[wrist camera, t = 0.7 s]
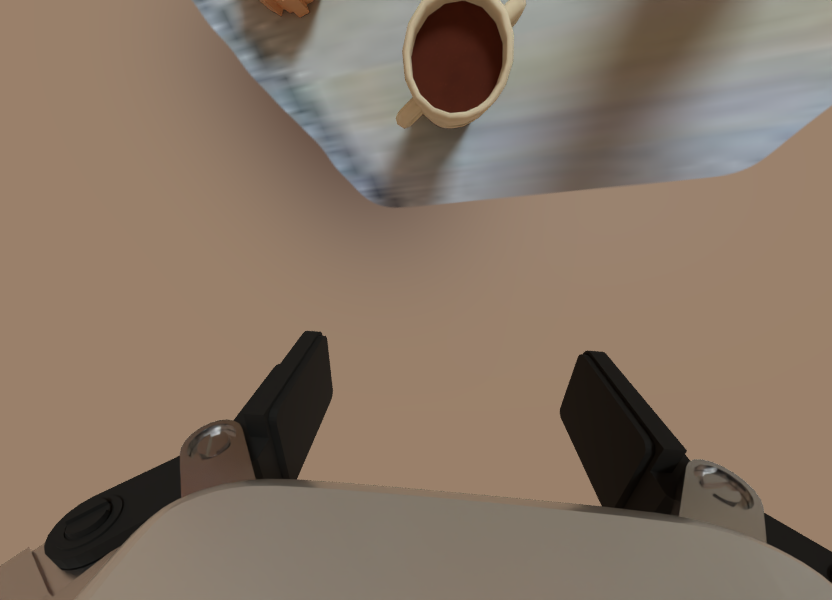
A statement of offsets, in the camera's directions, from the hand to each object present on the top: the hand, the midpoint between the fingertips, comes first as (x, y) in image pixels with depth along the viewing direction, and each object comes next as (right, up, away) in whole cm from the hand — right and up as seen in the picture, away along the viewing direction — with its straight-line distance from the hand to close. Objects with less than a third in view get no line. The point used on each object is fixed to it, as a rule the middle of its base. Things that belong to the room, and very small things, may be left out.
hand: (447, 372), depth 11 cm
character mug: (+2, +24, +19) cm, 31 cm away
